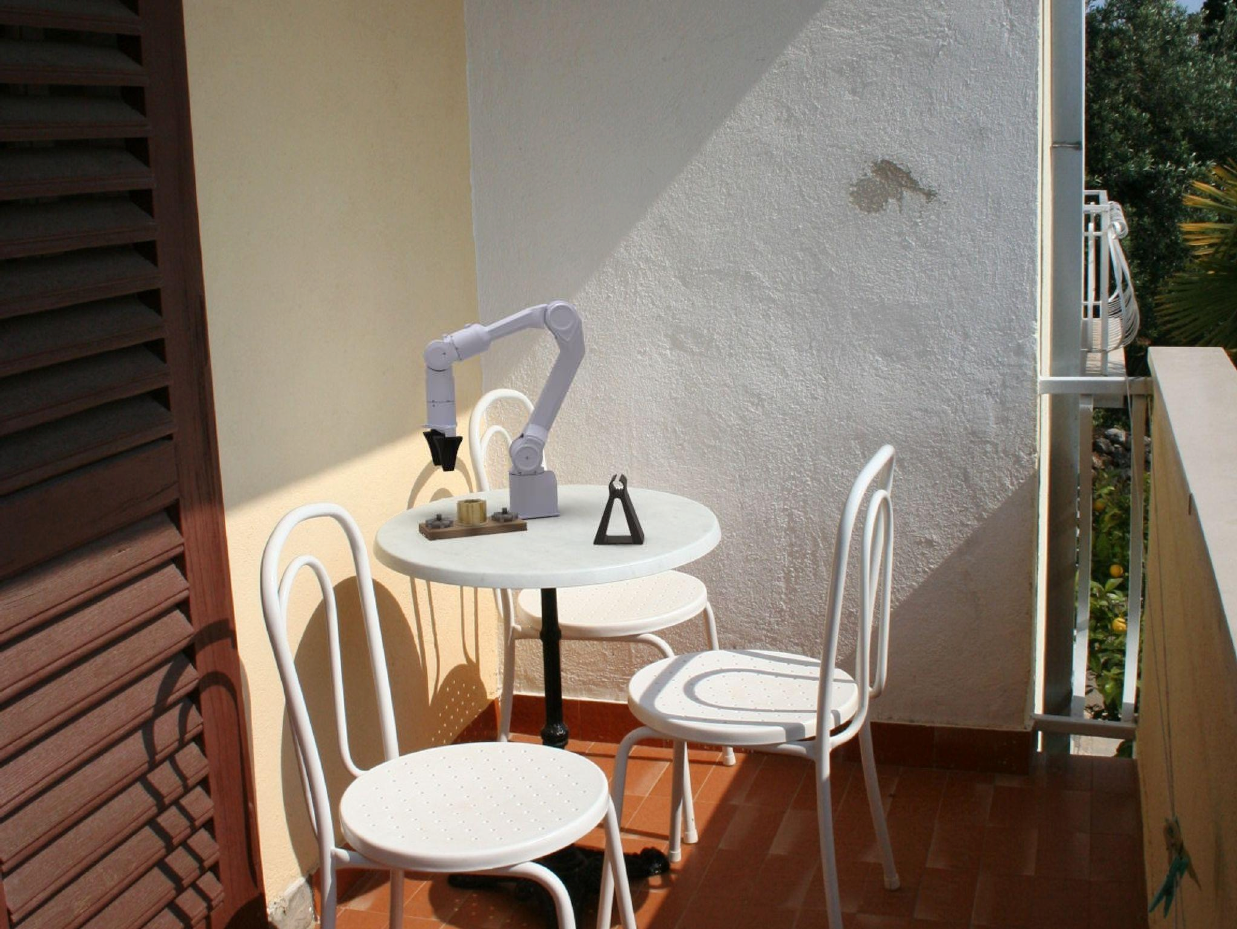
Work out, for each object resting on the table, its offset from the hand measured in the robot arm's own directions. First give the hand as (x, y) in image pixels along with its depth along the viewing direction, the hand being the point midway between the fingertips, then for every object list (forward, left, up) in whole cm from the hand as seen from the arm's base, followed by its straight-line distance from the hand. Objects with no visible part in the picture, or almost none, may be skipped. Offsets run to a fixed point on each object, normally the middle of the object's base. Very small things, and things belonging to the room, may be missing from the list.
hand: (443, 468), depth 246 cm
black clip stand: (-24, +34, -11) cm, 43 cm away
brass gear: (-2, +13, -9) cm, 16 cm away
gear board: (-2, +13, -10) cm, 17 cm away
